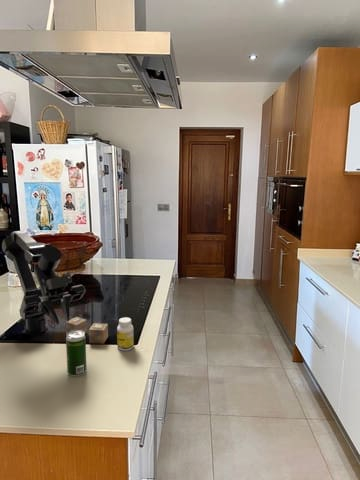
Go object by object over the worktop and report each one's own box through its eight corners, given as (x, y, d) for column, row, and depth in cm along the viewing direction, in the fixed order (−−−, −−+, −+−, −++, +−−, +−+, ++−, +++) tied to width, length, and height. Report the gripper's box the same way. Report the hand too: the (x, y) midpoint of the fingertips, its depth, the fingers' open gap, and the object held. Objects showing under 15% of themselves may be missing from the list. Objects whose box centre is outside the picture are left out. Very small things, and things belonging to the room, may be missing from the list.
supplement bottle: (114, 346, 113) (113, 319, 111) (127, 341, 117) (127, 314, 115) (123, 352, 110) (123, 324, 108) (136, 347, 113) (136, 319, 111)
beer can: (90, 371, 99) (88, 333, 96) (73, 379, 95) (71, 340, 93) (80, 364, 102) (78, 327, 100) (63, 371, 99) (62, 333, 96)
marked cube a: (89, 343, 116) (89, 328, 115) (94, 336, 121) (94, 322, 120) (103, 343, 115) (103, 329, 114) (108, 337, 120) (107, 323, 119)
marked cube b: (66, 334, 121) (65, 321, 120) (77, 329, 125) (76, 316, 124) (76, 338, 119) (75, 324, 118) (86, 332, 123) (86, 319, 122)
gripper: (21, 270, 97) (37, 319, 91) (82, 260, 109) (100, 302, 103) (14, 289, 104) (29, 335, 98) (72, 278, 116) (88, 318, 110)
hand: (63, 322), depth 102 cm, fingers open, 3 cm apart
